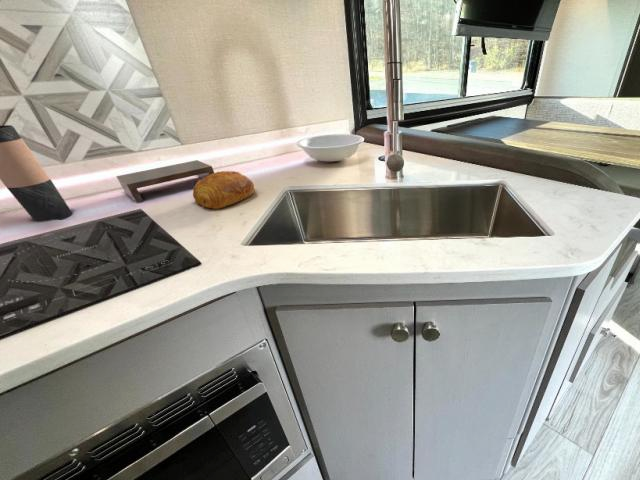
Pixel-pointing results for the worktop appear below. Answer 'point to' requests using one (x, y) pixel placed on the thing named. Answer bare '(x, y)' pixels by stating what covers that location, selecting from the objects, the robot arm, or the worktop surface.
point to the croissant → (222, 189)
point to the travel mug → (28, 179)
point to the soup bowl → (331, 146)
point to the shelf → (161, 176)
